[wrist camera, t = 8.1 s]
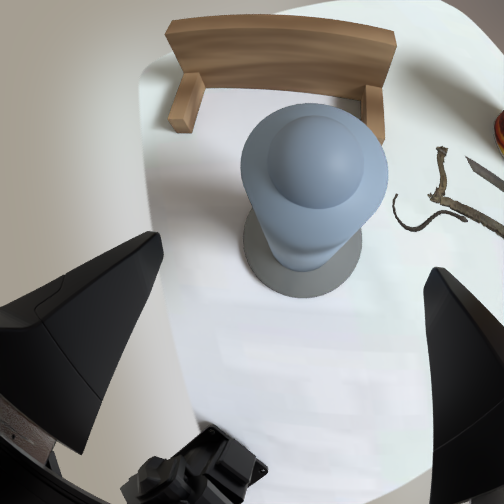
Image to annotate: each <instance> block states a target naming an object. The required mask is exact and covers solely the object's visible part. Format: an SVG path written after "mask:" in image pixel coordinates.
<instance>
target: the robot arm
mask: <svg viewBox="0 0 504 504" xmlns="http://www.w3.org/2000/svg"><path fill="white" fill-rule="evenodd" d="M163 256H164V252H163V247H162V242H161V237H160V234H159V233H158V232H152V231H147V232H145V233H142V234H141V235H139V236H136V237H135V238H132V239H130V240H128V241H126V242H124V243H122V244H121V245H118V246H117V247H115V248H113V249H111V250H109V251H107V252H105V253H103V254H101V255H100V256H97V257H95V258H94V259H92V260H90V261H88V262H86V263H84V264H82V265H80V266H79V267H77V268H75V269H73V270H71V271H69V272H68V273H66V274H65V275H62V276H60V277H59V278H57V279H55V280H53V281H51V282H50V283H48V284H46V285H44V286H42V287H40V288H38V289H36V290H34V291H32V292H30V293H28V294H26V295H24V296H22V297H20V298H18V299H17V300H14V301H12V302H10V303H9V304H7V305H4V306H2V307H0V504H110V503H108V502H106V501H104V500H102V499H100V498H98V497H96V496H94V495H92V494H90V493H88V492H87V491H85V490H83V489H81V488H79V487H78V486H76V485H74V484H73V483H71V482H69V481H67V480H66V479H64V478H63V477H62V475H61V472H60V469H59V466H58V463H57V460H56V456H55V453H54V451H52V450H53V448H54V446H55V443H56V441H57V442H59V443H61V444H62V445H64V446H66V447H67V448H69V449H71V450H73V451H74V452H76V453H78V454H80V455H82V454H83V451H84V449H85V446H86V443H87V440H88V438H89V435H90V432H91V429H92V427H93V424H94V422H95V419H96V416H97V414H98V411H99V409H100V406H101V403H102V400H103V398H104V396H105V393H106V391H107V388H108V386H109V383H110V381H111V379H112V376H113V374H114V372H115V369H116V367H117V365H118V362H119V360H120V358H121V355H122V353H123V351H124V349H125V346H126V344H127V342H128V340H129V338H130V335H131V333H132V331H133V329H134V327H135V325H136V322H137V320H138V318H139V316H140V314H141V312H142V310H143V308H144V306H145V304H146V301H147V299H148V297H149V295H150V292H151V290H152V287H153V284H154V281H155V279H156V276H157V273H158V271H159V268H160V265H161V263H162V260H163ZM423 294H424V308H425V326H426V337H427V345H428V353H429V362H430V372H431V384H432V400H433V465H432V481H431V493H430V502H429V504H461V503H465V502H468V501H469V504H504V326H503V325H502V324H501V323H500V322H499V321H498V320H497V319H496V318H495V317H494V316H493V315H492V314H491V312H490V311H489V310H488V309H487V308H486V307H485V306H484V305H483V304H482V303H481V302H480V301H479V300H478V299H477V298H476V297H475V296H474V295H473V294H472V293H471V292H470V291H469V290H468V289H467V288H466V287H465V286H463V285H462V284H461V283H460V282H459V281H458V280H457V279H456V278H455V277H454V276H453V275H452V274H451V273H450V272H449V271H447V270H446V269H445V268H441V267H434V268H433V269H432V270H431V272H430V275H429V277H428V279H427V281H426V283H425V286H424V290H423ZM210 429H213V430H214V431H215V432H214V433H212V432H211V431H210ZM260 469H264V470H265V471H260ZM267 473H268V467H267V466H266V465H265V464H263V463H262V462H261V461H259V460H258V459H257V458H256V456H255V455H254V454H253V453H251V452H250V451H249V450H247V449H246V448H245V447H244V446H242V445H241V444H240V443H239V442H237V441H236V440H235V439H232V438H230V437H229V436H227V435H226V434H225V433H224V432H223V431H221V430H220V429H219V428H218V427H217V426H215V425H210V426H208V427H207V428H206V429H205V430H204V431H202V432H201V433H200V434H199V435H198V436H197V437H195V438H194V439H193V440H192V441H191V442H189V443H188V444H187V445H186V446H185V447H183V448H182V449H181V450H180V451H179V452H177V453H176V454H175V455H174V456H173V457H171V458H170V459H169V460H167V459H162V458H159V457H156V456H154V457H152V458H149V459H148V460H147V461H146V462H145V463H144V464H143V465H142V466H141V467H140V469H139V470H138V473H137V474H135V475H134V476H132V477H130V478H129V481H128V482H127V483H126V484H124V485H123V486H122V487H121V488H120V490H121V492H122V494H123V496H124V498H125V500H126V501H127V504H241V503H242V502H243V501H244V498H245V494H246V491H247V488H248V487H249V486H251V485H252V484H254V483H255V482H257V481H258V480H259V479H261V478H262V477H264V476H265V475H266V474H267Z"/></svg>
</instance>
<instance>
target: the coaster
mask: <svg viewBox="0 0 504 504" xmlns="http://www.w3.org/2000/svg"><path fill="white" fill-rule="evenodd" d="M243 242H244V250H245V254H246V258H247V260H248V263H249V265H250V267H251V268H252V270H253V272H254V273H255V274H256V276H257V277H258V278H259V279H260V280H261V281H262V282H263V283H264V284H265V285H267V286H268V287H269V288H271V289H272V290H274V291H276V292H278V293H280V294H283V295H286V296H289V297H295V298H312V297H317V296H321V295H324V294H326V293H329V292H331V291H333V290H334V289H336V288H337V287H339V286H340V285H341V284H342V283H344V282H345V281H346V280H347V278H348V277H349V276H350V275H351V273H352V272H353V271H354V269H355V267H356V265H357V263H358V260H359V257H360V253H361V249H362V232H361V228H360V229H359V230H358V231H357V232H356V233H355V234H354V235H353V236H352V237H351V238H350V239H349V240H348V241H347V242H346V243H345V244H344V245H343V246H342V247H341V248H340V249H339V250H338V251H337V252H336V253H335V254H334V255H333V256H332V257H331V258H330V259H329V260H328V261H327V262H326V263H325V264H324V265H323V266H321V267H320V268H318V269H316V270H313V271H309V272H296V271H293V270H290V269H287V268H286V267H284V266H283V265H281V264H280V263H279V262H278V261H277V260H276V258H275V257H274V255H273V253H272V251H271V249H270V247H269V244H268V242H267V239H266V237H265V235H264V232H263V230H262V228H261V225H260V223H259V221H258V218H257V216H256V214H255V211H254V209H253V208H252V209H251V211H250V213H249V215H248V217H247V220H246V223H245V228H244V236H243Z"/></svg>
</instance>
